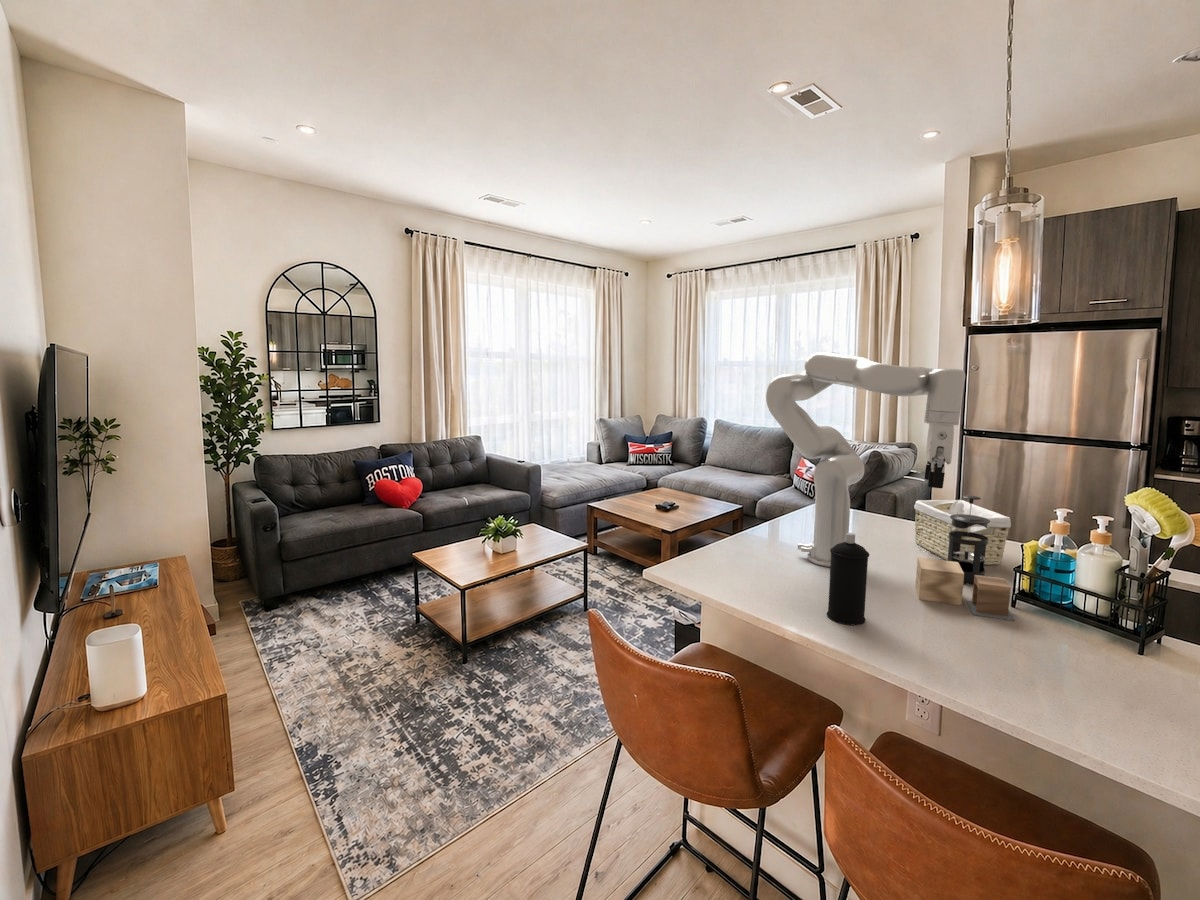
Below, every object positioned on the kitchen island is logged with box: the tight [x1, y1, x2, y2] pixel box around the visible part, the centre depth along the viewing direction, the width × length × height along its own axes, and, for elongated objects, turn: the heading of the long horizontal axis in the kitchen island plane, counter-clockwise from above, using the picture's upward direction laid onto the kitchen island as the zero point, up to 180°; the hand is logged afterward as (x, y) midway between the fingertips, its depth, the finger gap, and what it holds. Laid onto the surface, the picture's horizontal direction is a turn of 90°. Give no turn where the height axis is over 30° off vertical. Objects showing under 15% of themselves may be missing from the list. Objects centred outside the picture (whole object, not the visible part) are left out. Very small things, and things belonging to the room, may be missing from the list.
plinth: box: [915, 556, 964, 606], centre depth 140 cm, size 9×9×8 cm
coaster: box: [966, 599, 1016, 622], centre depth 131 cm, size 8×8×1 cm
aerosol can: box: [826, 532, 870, 626], centre depth 127 cm, size 8×8×20 cm
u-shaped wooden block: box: [971, 575, 1011, 616], centre depth 131 cm, size 6×6×7 cm
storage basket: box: [913, 499, 1012, 566], centre depth 171 cm, size 24×16×15 cm
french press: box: [948, 495, 990, 585], centre depth 150 cm, size 12×9×23 cm
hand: (933, 483), depth 143 cm, fingers open, 9 cm apart
